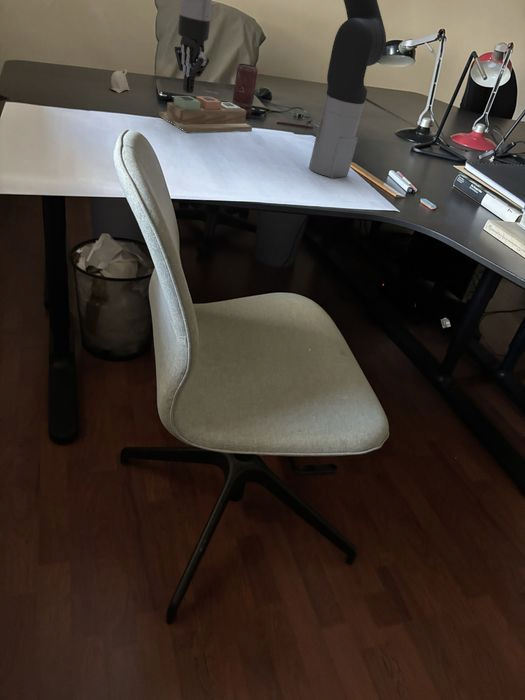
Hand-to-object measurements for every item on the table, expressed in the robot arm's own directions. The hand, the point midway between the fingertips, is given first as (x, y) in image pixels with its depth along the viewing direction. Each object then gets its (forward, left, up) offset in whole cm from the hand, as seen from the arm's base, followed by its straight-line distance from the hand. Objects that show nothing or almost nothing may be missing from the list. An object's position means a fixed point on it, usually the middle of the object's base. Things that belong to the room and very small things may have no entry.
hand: (187, 91), depth 137 cm
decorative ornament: (+33, +2, -9) cm, 34 cm away
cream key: (0, -14, -6) cm, 15 cm away
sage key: (0, 0, -4) cm, 4 cm away
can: (+7, -25, -8) cm, 27 cm away
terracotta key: (0, -7, -4) cm, 8 cm away
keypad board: (0, -7, -8) cm, 11 cm away
